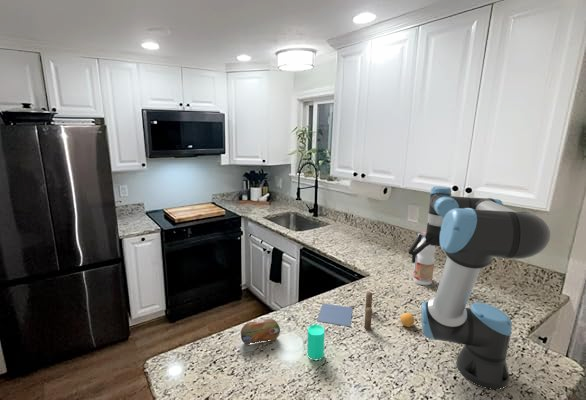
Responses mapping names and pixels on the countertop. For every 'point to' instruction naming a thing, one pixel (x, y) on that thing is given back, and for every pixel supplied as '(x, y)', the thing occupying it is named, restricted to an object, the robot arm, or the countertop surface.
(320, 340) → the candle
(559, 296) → the countertop surface
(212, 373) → the countertop surface
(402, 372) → the countertop surface
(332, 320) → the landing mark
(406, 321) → the ball
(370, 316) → the post near
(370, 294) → the post far
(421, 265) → the fruit juice
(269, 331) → the tin
